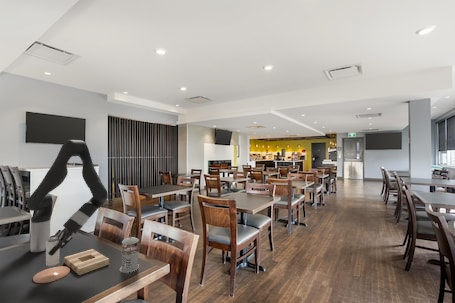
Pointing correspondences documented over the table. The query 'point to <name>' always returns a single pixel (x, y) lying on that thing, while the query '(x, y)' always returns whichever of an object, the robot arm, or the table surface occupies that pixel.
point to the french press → (129, 254)
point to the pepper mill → (55, 258)
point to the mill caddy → (86, 261)
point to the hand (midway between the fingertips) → (48, 252)
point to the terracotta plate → (51, 274)
